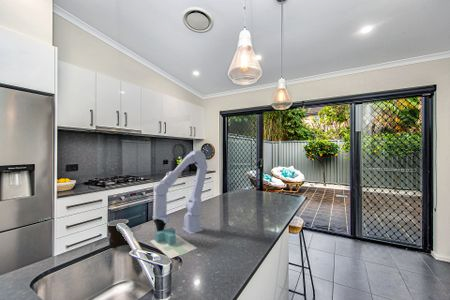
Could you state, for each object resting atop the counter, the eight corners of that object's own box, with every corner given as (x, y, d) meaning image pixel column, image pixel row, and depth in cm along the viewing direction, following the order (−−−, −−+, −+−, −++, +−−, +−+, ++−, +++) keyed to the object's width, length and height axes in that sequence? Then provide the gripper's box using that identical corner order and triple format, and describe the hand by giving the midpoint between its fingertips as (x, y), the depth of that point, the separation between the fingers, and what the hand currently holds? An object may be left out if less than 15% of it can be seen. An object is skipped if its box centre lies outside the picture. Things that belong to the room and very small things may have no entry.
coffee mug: (108, 241, 92) (109, 220, 92) (129, 239, 95) (129, 218, 95) (103, 253, 81) (103, 229, 81) (125, 249, 84) (126, 226, 84)
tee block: (154, 240, 92) (155, 232, 92) (172, 235, 98) (172, 227, 99) (163, 247, 86) (163, 238, 86) (181, 241, 92) (181, 233, 92)
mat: (149, 241, 92) (149, 240, 92) (174, 234, 101) (174, 233, 101) (170, 260, 76) (170, 258, 76) (198, 249, 85) (198, 248, 85)
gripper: (147, 205, 102) (147, 231, 101) (159, 211, 91) (158, 240, 90) (160, 203, 106) (160, 228, 106) (173, 208, 96) (172, 236, 95)
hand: (160, 233), depth 99 cm, fingers closed
